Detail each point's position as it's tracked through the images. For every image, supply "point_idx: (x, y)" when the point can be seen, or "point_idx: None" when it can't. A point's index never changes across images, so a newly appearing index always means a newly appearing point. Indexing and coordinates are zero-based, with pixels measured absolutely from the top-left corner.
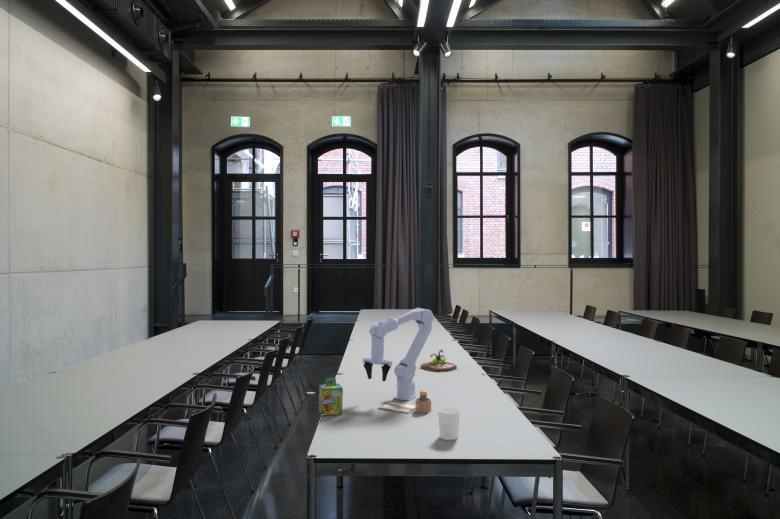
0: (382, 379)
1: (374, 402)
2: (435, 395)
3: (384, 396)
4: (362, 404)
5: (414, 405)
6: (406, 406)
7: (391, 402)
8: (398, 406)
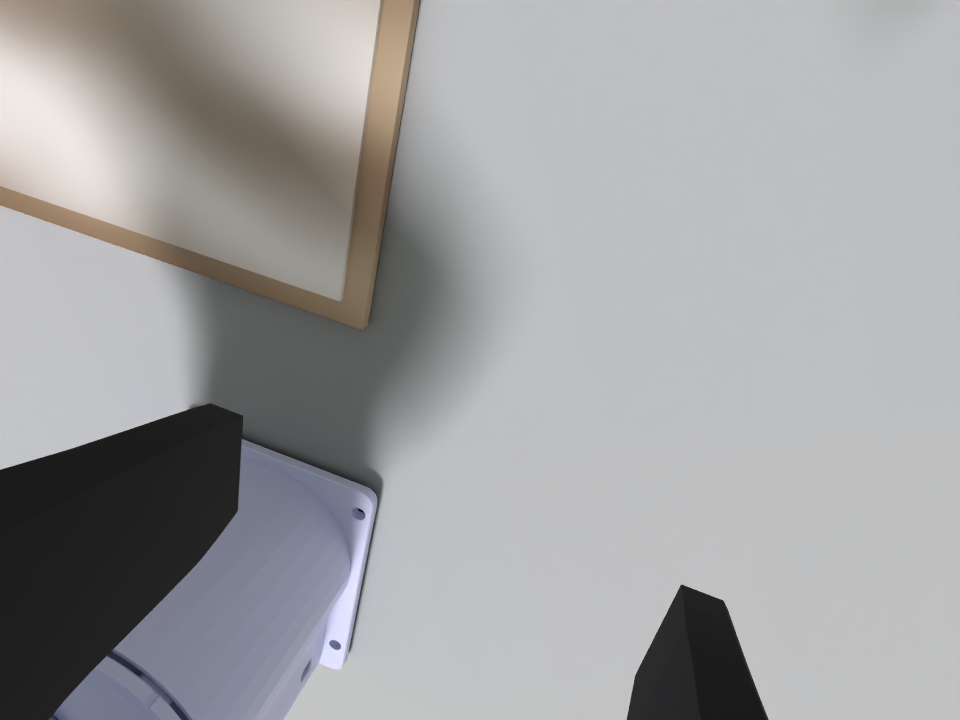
0: (208, 428)
1: (593, 298)
2: None
3: (523, 596)
4: (791, 130)
5: (11, 182)
6: (69, 106)
7: (320, 271)
8: (156, 72)
